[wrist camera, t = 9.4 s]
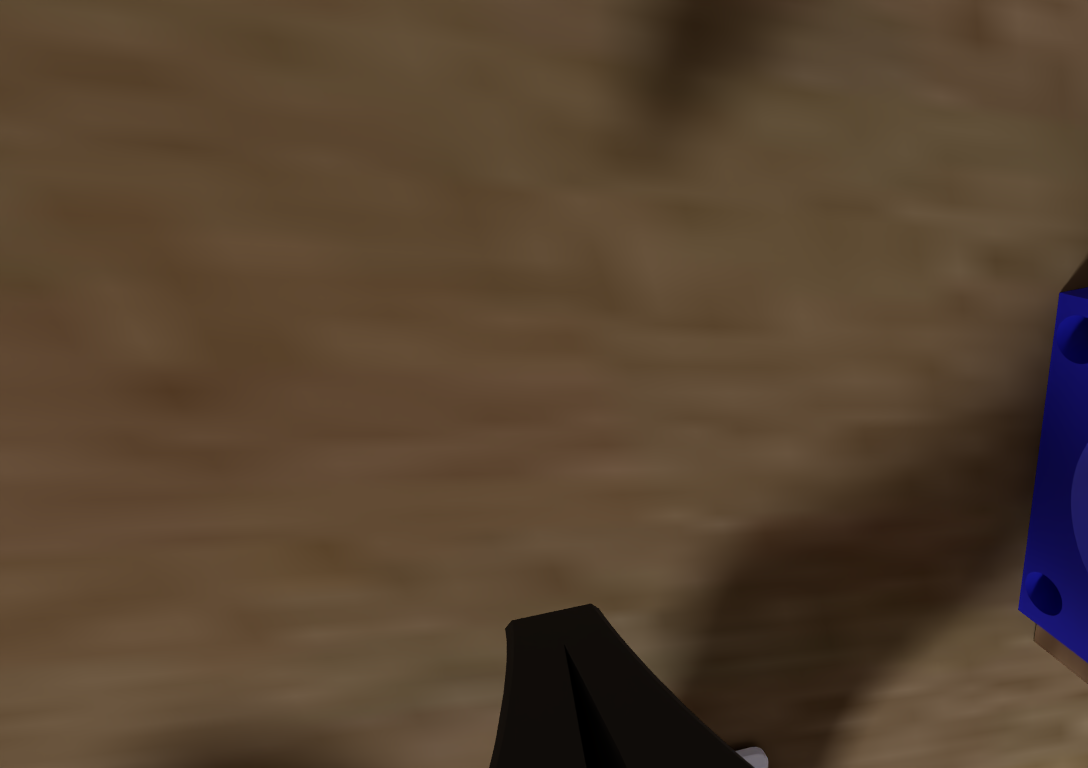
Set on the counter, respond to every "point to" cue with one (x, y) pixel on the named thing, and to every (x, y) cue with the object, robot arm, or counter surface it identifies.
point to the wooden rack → (1061, 653)
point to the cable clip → (1062, 489)
